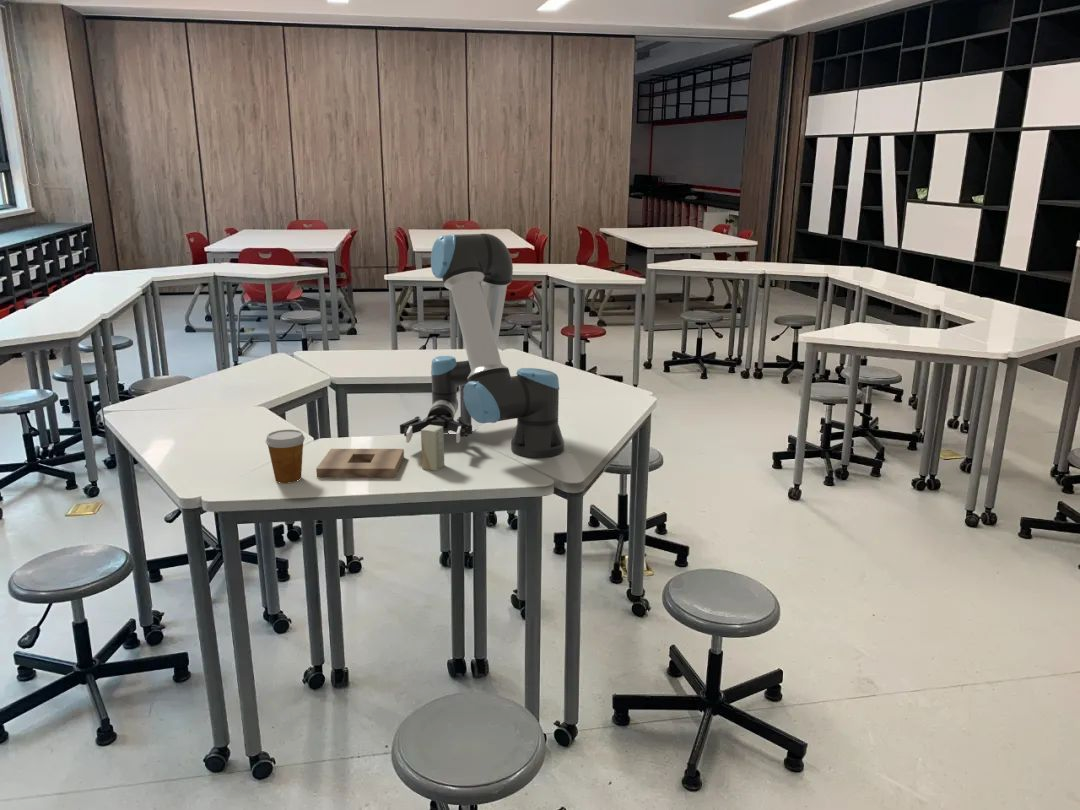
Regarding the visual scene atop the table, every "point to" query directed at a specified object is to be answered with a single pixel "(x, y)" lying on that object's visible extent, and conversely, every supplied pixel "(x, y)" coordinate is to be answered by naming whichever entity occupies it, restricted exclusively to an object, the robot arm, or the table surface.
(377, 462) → the socket block
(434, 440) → the box
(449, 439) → the table surface
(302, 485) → the table surface
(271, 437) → the disposable coffee cup
